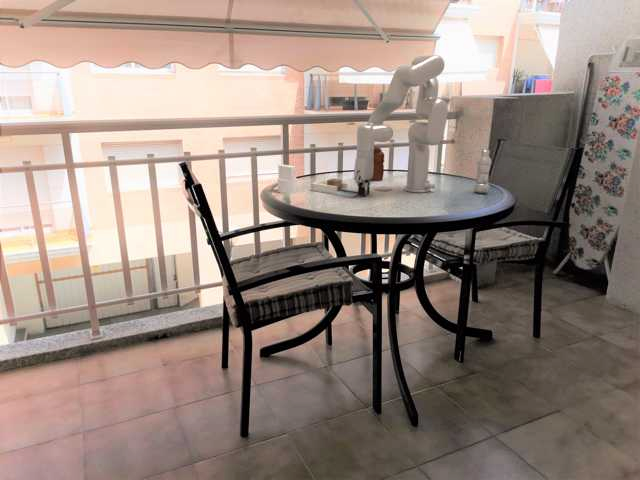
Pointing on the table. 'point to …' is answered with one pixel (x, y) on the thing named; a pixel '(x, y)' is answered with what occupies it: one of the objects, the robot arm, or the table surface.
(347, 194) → the mat
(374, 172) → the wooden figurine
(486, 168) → the plastic bottle
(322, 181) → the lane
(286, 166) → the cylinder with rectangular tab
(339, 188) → the rod with block end
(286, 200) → the table surface
